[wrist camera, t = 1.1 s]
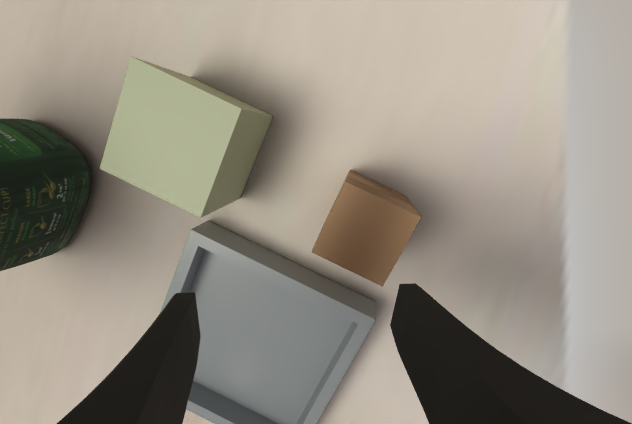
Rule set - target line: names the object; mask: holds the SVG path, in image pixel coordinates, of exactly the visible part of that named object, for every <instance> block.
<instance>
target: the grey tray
mask: <svg viewBox="0 0 632 424" xmlns="http://www.w3.org/2000/svg"><path fill="white" fill-rule="evenodd" d="M191 292H195V295H196V303H197V311H198V319H199V327H200V335H201V337H200V345H199V353H198V360H197V367H196V371H195V375H194V379H193V383H192V387H191V391H190V395H189V399H188V403H187V407H186V409H187V410H189V411H191V412H193V413H195V414H197V415H199V416H201V417H203V418H205V419H207V420H209V421H211V422H213V423H215V424H316V423H317V421H318V420H319V418H320V416H321V414H322V413H323V411H324V409H325V407H326V406H327V404H328V402H329V400H330V399H331V397H332V395H333V393H334V392H335V390H336V388H337V386H338V385H339V383H340V381H341V379H342V378H343V376H344V374H345V372H346V371H347V369H348V367H349V365H350V364H351V362H352V360H353V358H354V357H355V355H356V353H357V351H358V350H359V348H360V346H361V344H362V343H363V341H364V339H365V337H366V336H367V334H368V332H369V330H370V329H371V327H372V325H373V323H374V322H375V320H376V318H375V304H374V301H373V300H371V299H369V298H367V297H365V296H363V295H361V294H358V293H356V292H354V291H352V290H350V289H348V288H346V287H344V286H342V285H340V284H338V283H336V282H334V281H332V280H330V279H328V278H326V277H324V276H321V275H319V274H317V273H315V272H313V271H311V270H309V269H307V268H305V267H303V266H301V265H299V264H297V263H295V262H293V261H291V260H289V259H287V258H284V257H282V256H280V255H278V254H276V253H274V252H272V251H270V250H268V249H266V248H264V247H262V246H260V245H258V244H256V243H254V242H252V241H249V240H247V239H245V238H243V237H241V236H239V235H237V234H235V233H233V232H231V231H229V230H227V229H225V228H223V227H221V226H219V225H217V224H215V223H212V222H210V221H206V222H205V223H203V224H201V225H199V226H197V227H195V228H193V229H192V230H191V231H190V234H189V237H188V239H187V242H186V245H185V248H184V250H183V253H182V256H181V258H180V261H179V264H178V266H177V269H176V272H175V274H174V277H173V280H172V282H171V285H170V288H169V290H168V293H167V296H166V299H165V301H164V304H163V307H162V309H161V312H162V310H163V309H164V308H165V306H166V305H167V304H168V302H169V301H170V299H171V298H172V297H173V295H175V294H176V293H191ZM161 312H160V313H161Z"/></svg>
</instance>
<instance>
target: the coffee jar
mask: <svg viewBox="0 0 632 424" xmlns="http://www.w3.org/2000/svg"><path fill="white" fill-rule="evenodd" d="M91 182H92V177H91V171H90V169H89V166H88V164H87V162H86V160H85V158H84V156H83V155H82V154H81V152H80V151H79V150H78V149H77V148H76V147H75V146H74V145H72V144H71V143H70V142H69V141H68V140H66V139H65V138H63V137H62V136H61V135H59V134H58V133H56V132H54V131H53V130H51V129H49V128H47V127H45V126H43V125H41V124H39V123H36V122H34V121H31V120H26V119H0V271H2V270H6V269H9V268H13V267H16V266H19V265H22V264H25V263H28V262H32V261H35V260H38V259H40V258H43V257H46V256H49V255H52V254H54V253H56V252H58V251H60V250H61V249H62V248H63V247H64V246H65V245H66V244H67V242H68V241H69V239H70V238H71V236H72V234H73V233H74V231H75V229H76V227H77V225H78V223H79V221H80V219H81V216H82V214H83V211H84V209H85V206H86V202H87V199H88V196H89V192H90V188H91Z"/></svg>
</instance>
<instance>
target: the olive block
mask: <svg viewBox="0 0 632 424" xmlns="http://www.w3.org/2000/svg"><path fill="white" fill-rule="evenodd" d="M272 118H273V116H272V115H270V114H268V113H265V112H263V111H261V110H259V109H257V108H255V107H253V106H251V105H248V104H246V103H244V102H242V101H240V100H238V99H236V98H234V97H232V96H229V95H227V94H225V93H223V92H221V91H219V90H217V89H215V88H213V87H210V86H208V85H206V84H204V83H202V82H200V81H198V80H196V79H194V78H191V77H189V76H186V75H183V74H180V73H177V72H174V71H172V70H169V69H166V68H163V67H160V66H157V65H154V64H151V63H148V62H146V61H143V60H140V59H137V58H134V57H131V58H130V62H129V65H128V69H127V72H126V76H125V80H124V83H123V87H122V90H121V94H120V97H119V101H118V104H117V108H116V112H115V115H114V119H113V122H112V126H111V129H110V133H109V137H108V140H107V144H106V147H105V151H104V154H103V158H102V162H101V165H100V169H101V170H103V171H105V172H107V173H109V174H112V175H114V176H116V177H118V178H120V179H122V180H124V181H126V182H128V183H130V184H132V185H134V186H136V187H138V188H140V189H142V190H144V191H146V192H148V193H151V194H153V195H155V196H157V197H159V198H161V199H163V200H165V201H167V202H169V203H171V204H173V205H175V206H177V207H179V208H181V209H183V210H185V211H188V212H190V213H192V214H194V215H196V216H198V217H200V218H201V217H203V216H205V215H207V214H209V213H211V212H213V211H215V210H217V209H219V208H221V207H223V206H225V205H227V204H229V203H231V202H233V201H236V200H238V199H240V197H241V195H242V192H243V190H244V187H245V185H246V182H247V180H248V177H249V175H250V172H251V170H252V167H253V165H254V162H255V160H256V157H257V155H258V153H259V150H260V148H261V145H262V143H263V140H264V138H265V135H266V133H267V130H268V128H269V125H270V123H271V120H272Z"/></svg>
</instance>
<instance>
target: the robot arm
mask: <svg viewBox="0 0 632 424" xmlns="http://www.w3.org/2000/svg"><path fill="white" fill-rule="evenodd" d="M390 326H391V329H392V333H393V336H394V340H395V343H396V346H397V349H398V352H399V355H400V357H401V359H402V362H403V364H404V366H405V369H406V371H407V373H408V375H409V378H410V380H411V382H412V384H413V387H414V389H415V391H416V393H417V396H418V398H419V400H420V403H421V405H422V407H423V409H424V412H425V414H426V417H427V419H428V422H429V424H631V423H629V422H627V421H625V420H622V419H620V418H618V417H616V416H614V415H611V414H609V413H607V412H604V411H603V410H601V409H598V408H596V407H594V406H592V405H590V404H589V403H587V402H585V401H583V400H581V399H579V398H577V397H575V396H573V395H571V394H569V393H567V392H565V391H563V390H562V389H560V388H558V387H556V386H554V385H553V384H551V383H549V382H547V381H546V380H544V379H542V378H541V377H539V376H537V375H535V374H534V373H532V372H530V371H529V370H527V369H526V368H524V367H522V366H521V365H519V364H518V363H516V362H515V361H513V360H512V359H510V358H509V357H507V356H506V355H504V354H503V353H501V352H500V351H498V350H497V349H495V348H494V347H493V346H491V345H490V344H489V343H487V342H486V341H485V340H483V339H482V338H481V337H479V336H478V335H477V334H475V333H474V332H473V331H471V330H470V329H469V328H468V327H466V326H465V325H464V324H463V323H462V322H460V321H459V320H458V319H457V318H455V317H454V316H453V315H452V314H451V313H450V312H448V311H447V310H446V309H445V308H444V307H443V306H441V305H440V304H439V303H438V302H437V301H436V300H434V299H433V298H432V297H431V296H430V295H429V294H428V293H426V292H425V291H424V290H423V289H422V288H420V287H419V286H418V285H417V284H400V286H399V290H398V294H397V299H396V303H395V307H394V311H393V316H392V320H391V324H390ZM200 337H201V335H200V327H199V319H198V311H197V303H196V295H195V292H191V293H176V294H175V295H173V297H172V298H171V299H170V301H169V302H168V304H167V305H166V306H165V308H164V309H163V310H162V312H161V313H160V315H159V316H158V317H157V318H156V320H155V321H154V322H153V324H152V325H151V326H150V328H149V329H148V330H147V331H146V332H145V334H144V335H143V336H142V337H141V339H140V340H139V341H138V342H137V344H136V345H135V346H134V347H133V348H132V349H131V351H130V352H129V353H128V354H127V355H126V356H125V357H124V358H123V359H122V361H121V362H120V363H119V364H118V365H117V366H116V367H115V368H114V369H113V371H112V372H111V373H110V374H109V375H108V376H107V377H106V378H105V379H104V380H103V381H102V382H101V383H100V384H99V385H98V386H97V387H96V388H95V389H94V390H93V391H92V392H91V393H90V394H89V395H88V396H87V397H86V398H85V399H84V400H83V401H81V402H80V403H79V404H78V405H77V406H76V407H75V408H74V409H73V410H72V411H70V412H69V413H68V414H67V415H66V416H65V417H64V418H63V419H62V420H60V421H59V422H58V423H57V424H182V423H183V419H184V415H185V411H186V407H187V403H188V399H189V395H190V391H191V387H192V383H193V379H194V375H195V371H196V367H197V360H198V353H199V345H200Z"/></svg>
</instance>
